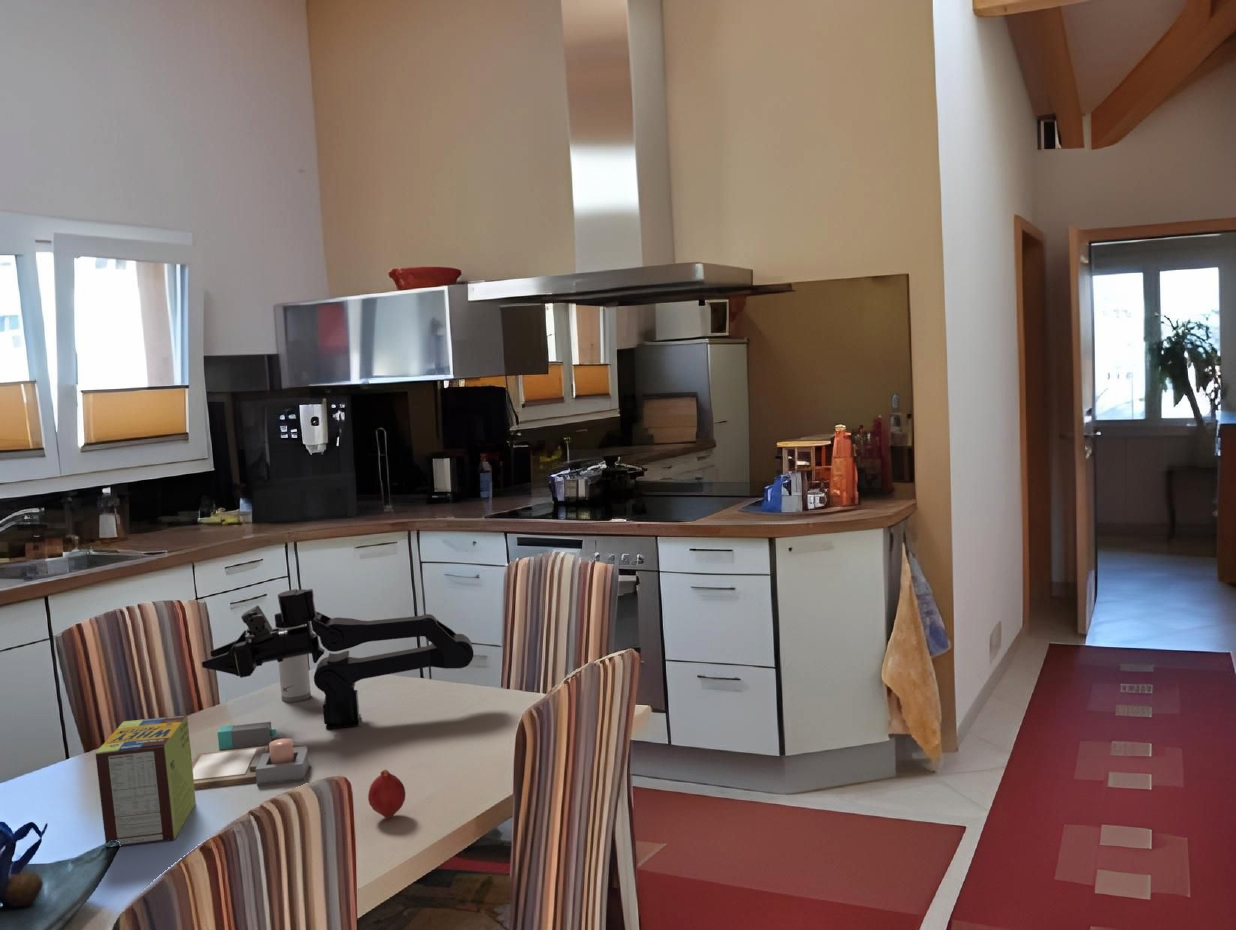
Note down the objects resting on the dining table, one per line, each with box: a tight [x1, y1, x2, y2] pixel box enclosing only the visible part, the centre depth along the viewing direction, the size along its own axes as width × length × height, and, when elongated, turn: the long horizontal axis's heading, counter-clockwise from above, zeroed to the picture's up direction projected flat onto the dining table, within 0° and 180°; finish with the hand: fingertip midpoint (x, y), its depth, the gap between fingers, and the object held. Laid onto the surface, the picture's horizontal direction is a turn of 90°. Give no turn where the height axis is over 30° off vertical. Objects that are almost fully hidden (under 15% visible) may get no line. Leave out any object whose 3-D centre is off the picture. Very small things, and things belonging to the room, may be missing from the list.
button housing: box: [256, 748, 310, 787], centre depth 193 cm, size 8×8×3 cm
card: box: [293, 745, 307, 750], centre depth 204 cm, size 6×5×1 cm
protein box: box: [95, 714, 196, 848], centre depth 174 cm, size 10×15×16 cm
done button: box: [268, 738, 294, 765], centre depth 193 cm, size 4×4×4 cm
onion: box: [367, 769, 406, 819], centre depth 172 cm, size 6×6×8 cm
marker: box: [217, 721, 277, 751], centre depth 212 cm, size 10×4×4 cm, turn 100°
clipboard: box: [192, 745, 270, 790], centre depth 198 cm, size 13×16×2 cm
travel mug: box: [274, 612, 312, 703], centre depth 239 cm, size 6×7×20 cm
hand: (206, 659), depth 214 cm, fingers open, 9 cm apart
